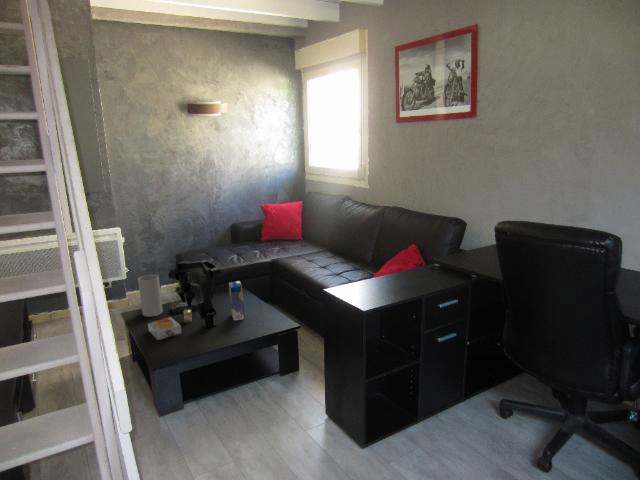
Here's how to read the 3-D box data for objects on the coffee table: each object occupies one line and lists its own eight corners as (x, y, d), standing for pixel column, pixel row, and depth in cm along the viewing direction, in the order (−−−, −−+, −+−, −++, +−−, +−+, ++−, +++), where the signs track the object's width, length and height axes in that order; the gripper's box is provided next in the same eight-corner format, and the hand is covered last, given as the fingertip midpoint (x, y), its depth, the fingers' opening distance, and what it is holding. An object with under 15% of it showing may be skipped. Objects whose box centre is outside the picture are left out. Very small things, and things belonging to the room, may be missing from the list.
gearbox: (183, 334, 264) (182, 323, 262) (159, 342, 256) (158, 330, 254) (171, 324, 279) (170, 314, 277) (148, 331, 270) (147, 320, 269)
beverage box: (241, 312, 294) (239, 280, 288) (244, 319, 284) (242, 286, 278) (231, 314, 292) (228, 282, 286) (233, 320, 281) (230, 287, 276)
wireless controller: (173, 315, 293) (170, 291, 289) (172, 308, 306) (169, 284, 302) (204, 310, 301) (202, 286, 296) (201, 303, 313) (199, 280, 309)
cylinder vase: (156, 317, 290) (151, 281, 284) (138, 316, 292) (133, 280, 286) (166, 310, 301) (162, 275, 295) (149, 309, 304) (145, 274, 298)
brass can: (193, 321, 283) (192, 310, 281) (186, 323, 280) (185, 312, 278) (190, 318, 286) (189, 308, 285) (183, 321, 283) (182, 310, 282)
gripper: (202, 281, 275) (205, 305, 278) (190, 274, 289) (193, 297, 293) (185, 286, 268) (187, 310, 272) (173, 278, 282) (176, 302, 286)
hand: (187, 304), depth 281 cm, fingers open, 9 cm apart
